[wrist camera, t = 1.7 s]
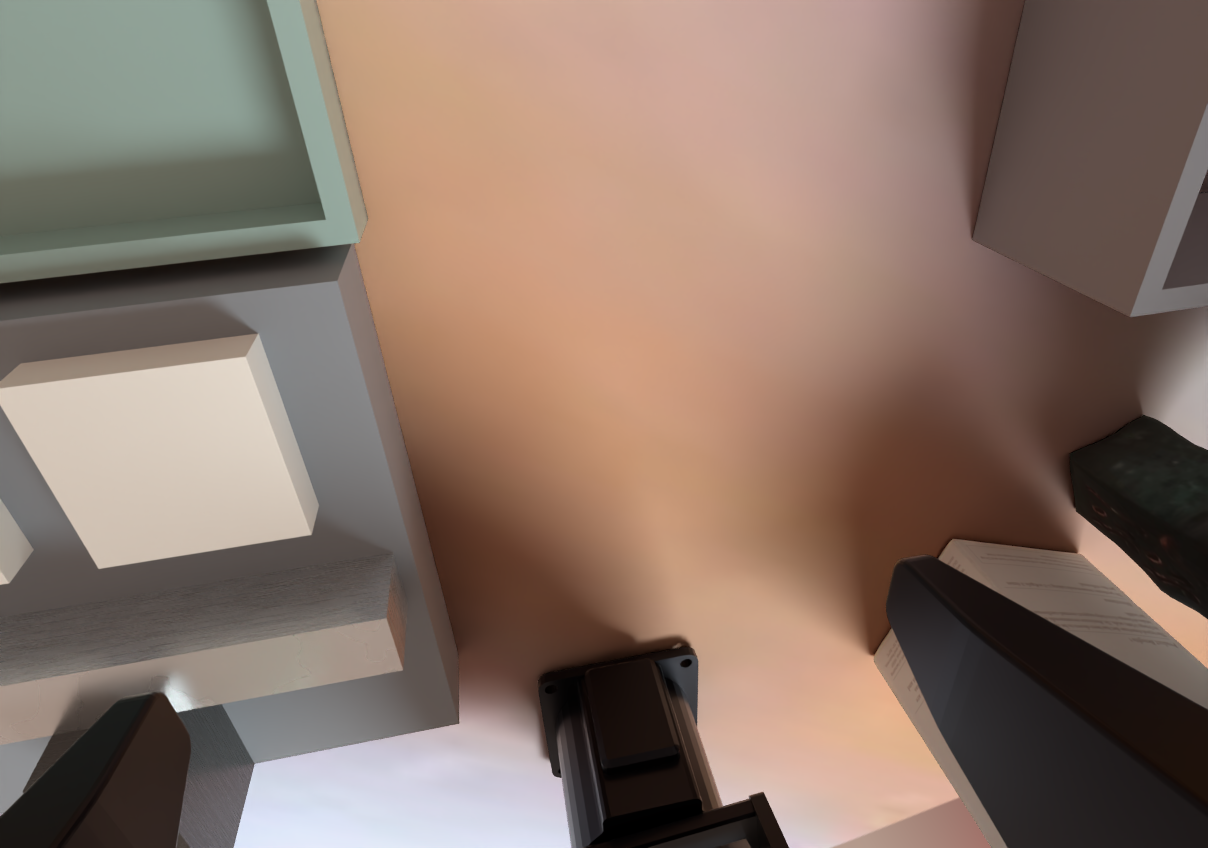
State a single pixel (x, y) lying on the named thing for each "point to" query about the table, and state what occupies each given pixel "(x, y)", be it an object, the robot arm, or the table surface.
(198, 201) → the bin
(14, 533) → the tile
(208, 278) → the board
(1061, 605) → the supplement box
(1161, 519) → the power drill
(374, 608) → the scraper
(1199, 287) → the gray open box
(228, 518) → the tile
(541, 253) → the table surface
